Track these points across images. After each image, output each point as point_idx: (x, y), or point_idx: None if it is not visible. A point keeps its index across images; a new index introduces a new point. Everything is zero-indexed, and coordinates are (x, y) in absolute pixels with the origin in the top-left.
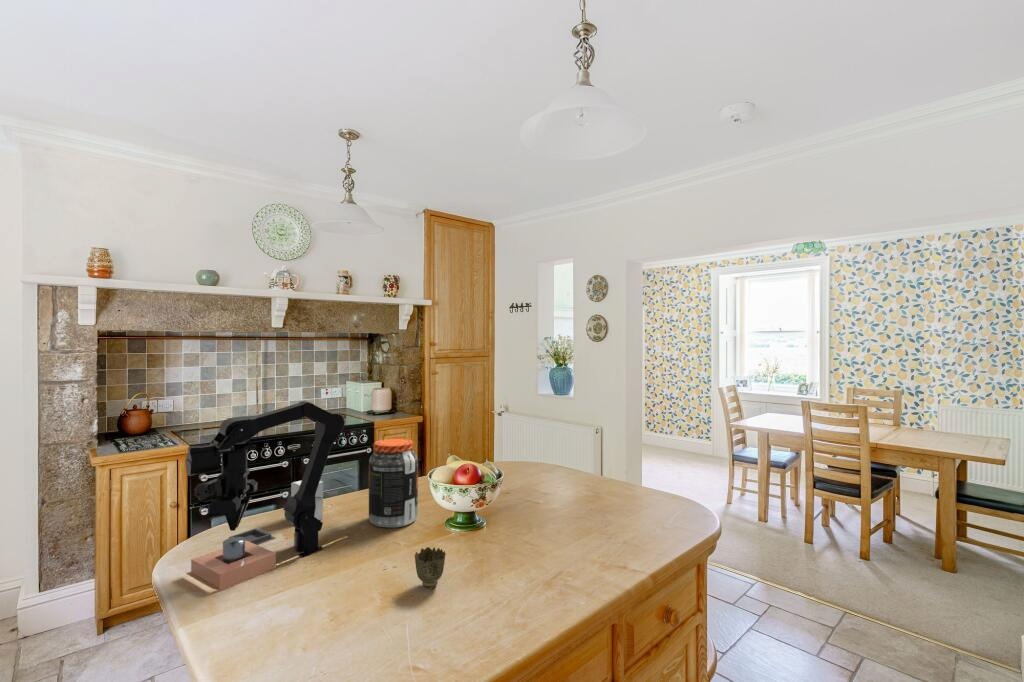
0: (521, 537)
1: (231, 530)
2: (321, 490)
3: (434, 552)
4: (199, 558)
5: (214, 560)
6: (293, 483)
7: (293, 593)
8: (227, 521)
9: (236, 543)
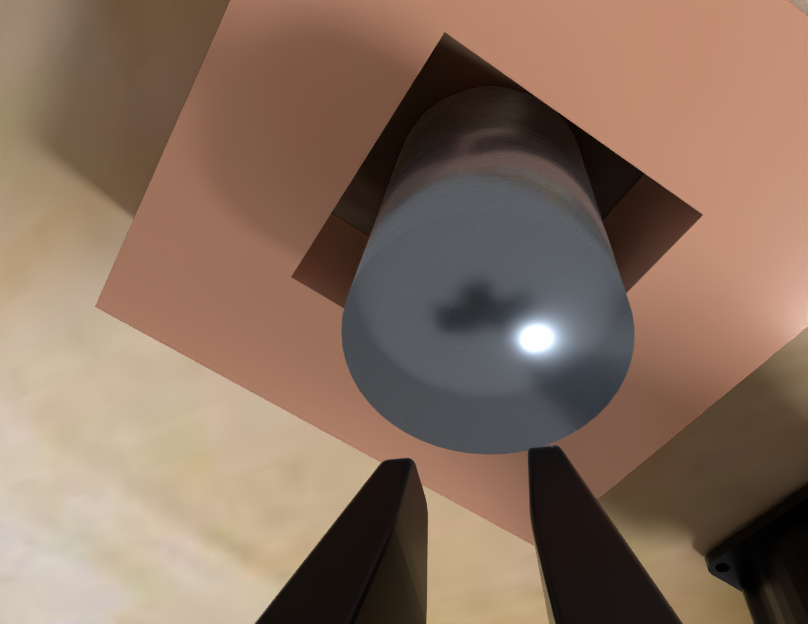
0: None
1: (387, 472)
2: None
3: None
4: None
5: (365, 83)
6: None
7: (231, 602)
8: (266, 614)
9: (388, 410)
